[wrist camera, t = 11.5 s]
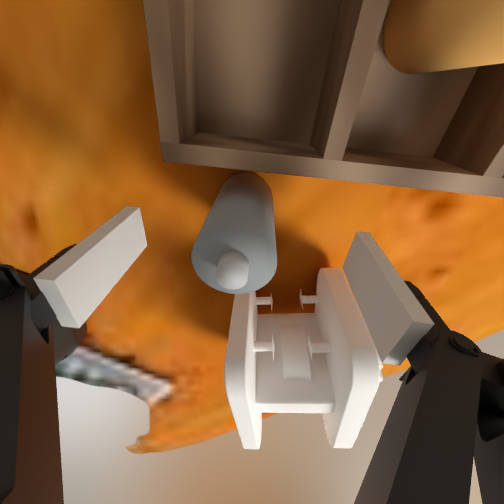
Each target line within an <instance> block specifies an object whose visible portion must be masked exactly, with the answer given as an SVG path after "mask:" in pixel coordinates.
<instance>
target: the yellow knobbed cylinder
mask: <svg viewBox="0 0 504 504" xmlns="http://www.w3.org/2000/svg"><path fill="white" fill-rule="evenodd" d="M383 46H384V51H385V54H386V57H387V59H388V61H389V63H390V64H391V65H392V66H393V67H394V68H395V69H396V70H398V71H399V72H402V73H405V74H420V73H428V72H436V71H444V70H452V69H460V68H468V67H476V66H484V65H492V64H501V63H504V0H392V2H391V5H390V7H389V9H388V12H387V15H386V19H385V23H384V30H383Z"/></svg>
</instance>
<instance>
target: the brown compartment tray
mask: <svg viewBox="0 0 504 504" xmlns="http://www.w3.org/2000/svg"><path fill="white" fill-rule="evenodd" d="M391 2H392V0H143V6H144V14H145V22H146V30H147V38H148V46H149V54H150V62H151V70H152V78H153V87H154V95H155V103H156V111H157V119H158V127H159V135H160V143H161V151H162V159H163V162H172V163H182V164H191V165H201V166H210V167H220V168H229V169H239V170H248V171H258V172H267V173H277V174H286V175H296V176H305V177H315V178H324V179H334V180H343V181H353V182H362V183H372V184H381V185H390V186H400V187H409V188H419V189H428V190H438V191H447V192H457V193H466V194H476V195H485V196H495V197H504V63H501V64H492V65H484V66H476V67H468V68H460V69H452V70H444V71H436V72H428V73H420V74H405V73H402V72H399V71H398V70H396V69H395V68H394V67H393V66H392V65H391V64H390V63H389V61H388V59H387V57H386V54H385V51H384V46H383V30H384V23H385V19H386V15H387V12H388V9H389V7H390V5H391Z"/></svg>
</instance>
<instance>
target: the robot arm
mask: <svg viewBox="0 0 504 504" xmlns="http://www.w3.org/2000/svg"><path fill="white" fill-rule="evenodd" d="M146 247H147V241H146V236H145V231H144V226H143V221H142V216H141V211H140V207H133V206H126V207H125V208H124V209H122V210H121V211H120V212H118V213H117V214H116V215H114V216H113V217H112V218H111V219H109V220H108V221H107V222H105V223H104V224H103V225H102V226H100V227H99V228H98V229H96V230H95V231H94V232H92V233H91V234H90V235H89V236H87V237H86V238H85V239H83V240H82V241H81V242H80V243H78V244H74V245H72V246H69V247H67V248H65V249H63V250H61V251H60V252H59V253H57V254H56V255H55V256H54V257H52V258H51V259H49V260H48V261H47V263H44V264H43V265H41V266H40V267H39V268H37V269H36V270H35V271H33V272H32V273H31V274H29V275H27V274H24V273H21V272H18V271H16V270H15V269H14V267H13V266H10V265H0V504H64V500H63V484H62V468H61V453H60V436H59V420H58V406H57V405H58V403H57V388H56V371H55V365H56V364H57V363H59V362H60V361H61V360H64V359H65V358H66V357H68V356H69V355H71V354H72V353H73V352H74V351H75V349H76V348H77V347H78V345H79V344H80V343H81V341H82V340H83V339H84V337H85V335H86V332H87V325H86V322H85V321H86V320H87V319H88V317H89V316H90V315H91V314H92V312H93V311H94V310H95V309H96V308H97V306H98V305H99V304H100V303H101V301H102V300H103V299H104V298H105V297H106V295H107V294H108V293H109V292H110V290H111V289H112V288H113V287H114V286H115V284H116V283H117V282H118V281H119V279H120V278H121V277H122V276H123V275H124V273H125V272H126V271H127V270H128V268H129V267H130V266H131V265H132V264H133V262H134V261H135V260H136V259H137V258H138V256H139V255H140V254H141V253H142V251H143V250H144V249H145V248H146ZM342 268H343V270H344V272H345V275H346V277H347V280H348V282H349V285H350V287H351V289H352V292H353V294H354V297H355V299H356V301H357V304H358V306H359V309H360V311H361V313H362V316H363V318H364V321H365V323H366V326H367V328H368V330H369V333H370V335H371V338H372V340H373V342H374V345H375V347H376V350H377V352H378V354H379V357H380V359H381V362H382V363H385V364H394V365H400V364H401V363H402V362H403V361H404V360H405V358H406V357H407V358H408V360H409V362H410V364H411V367H410V368H409V369H408V370H407V371H406V372H405V373H404V374H403V376H402V377H401V378H400V379H399V380H400V381H403V382H402V385H401V387H400V390H399V392H398V395H397V398H396V400H395V402H394V405H393V407H392V410H391V412H390V415H389V417H388V420H387V422H386V425H385V428H384V430H383V433H382V435H381V437H380V440H379V442H378V445H377V447H376V450H375V453H374V455H373V458H372V460H371V462H370V465H369V467H368V470H367V472H366V475H365V477H364V480H363V482H362V485H361V487H360V490H359V492H358V495H357V497H356V500H355V502H354V504H469V496H470V486H471V476H472V466H473V456H474V460H475V465H476V471H477V476H478V481H479V487H480V492H481V498H482V503H483V504H504V359H500V358H498V357H495V356H492V355H489V354H486V353H483V352H481V350H480V349H479V347H478V346H477V345H476V344H475V343H474V342H473V341H471V340H470V339H469V338H467V337H466V336H464V335H462V334H460V333H457V332H455V331H450V329H449V328H448V327H447V325H446V324H445V323H444V321H443V320H442V319H441V317H440V316H439V315H438V313H437V312H436V311H435V310H434V308H433V307H432V306H430V303H429V302H428V300H427V299H425V296H424V295H423V294H422V292H421V291H420V290H419V289H418V288H417V287H416V286H414V285H413V284H412V283H411V282H409V281H403V279H402V278H401V276H400V275H399V274H398V272H397V271H396V269H395V268H394V267H393V265H392V264H391V262H390V261H389V260H388V258H387V257H386V255H385V254H384V253H383V251H382V250H381V248H380V247H379V246H378V244H377V243H376V241H375V240H374V239H373V237H372V236H371V234H370V233H365V232H356V235H355V237H354V240H353V242H352V245H351V247H350V250H349V252H348V255H347V257H346V260H345V262H344V265H343V267H342Z"/></svg>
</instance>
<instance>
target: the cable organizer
mask: <svg viewBox="0 0 504 504" xmlns="http://www.w3.org/2000/svg"><path fill="white" fill-rule="evenodd" d="M300 302H301V305H302V308H303V304H306V303H315V309H314V313H286V314H258V310H257V305H271V311H272V304H273V300H272V295H271V297H256V292H255V291H253V292H250V293H244V294H235V296H234V302H233V309H232V316H231V322H230V329H229V336H228V342H227V349H226V356H225V367H224V378H225V389H226V394H227V398H228V401H229V404H230V407H231V410H232V414H233V417H234V420H235V423H236V426H237V429H238V433H239V436H240V439H241V442H242V445H243V448H244V449H259V447H260V443H261V425H262V423H261V422H262V412H270V413H322V414H323V419H324V425H325V430H326V435H327V438H328V441H329V444H330V445H331V447H332V448H352V446H353V444H354V442H355V439H356V438H357V437H358V433H359V430H360V428H361V426H363V421H365V416H366V414H367V412H368V410H369V407H370V405H371V403H372V400H373V398H374V396H375V394H376V391H377V389H378V385H379V382H382V380H383V375H382V372H381V369H382V367H383V364H380V363H382V362H381V359H380V357H379V354H378V352H377V350H376V347H375V345H374V342H373V340H372V338H371V335H370V333H369V331H368V328H367V326H366V324H365V321H364V319H363V317H362V315H361V312H360V310H359V308H358V306H357V303H356V301H355V299H354V297H353V294H352V292H351V290H350V288H349V285H348V283H347V281H346V279H345V276H344V274H343V272H342V270H341V269H340V268H339V267H330V268H321V269H320V270H319V273H318V277H317V287H316V295H308V296H302V294H301V291H300Z"/></svg>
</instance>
